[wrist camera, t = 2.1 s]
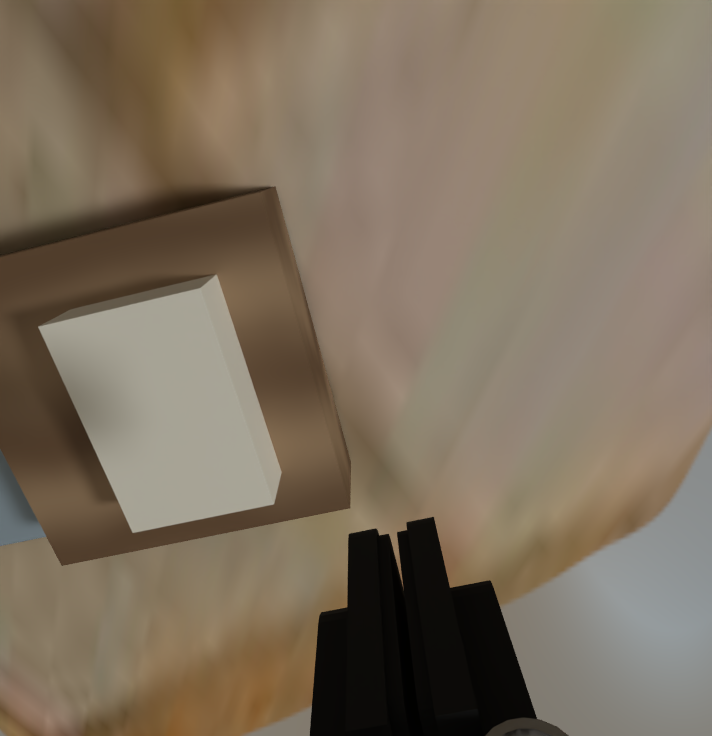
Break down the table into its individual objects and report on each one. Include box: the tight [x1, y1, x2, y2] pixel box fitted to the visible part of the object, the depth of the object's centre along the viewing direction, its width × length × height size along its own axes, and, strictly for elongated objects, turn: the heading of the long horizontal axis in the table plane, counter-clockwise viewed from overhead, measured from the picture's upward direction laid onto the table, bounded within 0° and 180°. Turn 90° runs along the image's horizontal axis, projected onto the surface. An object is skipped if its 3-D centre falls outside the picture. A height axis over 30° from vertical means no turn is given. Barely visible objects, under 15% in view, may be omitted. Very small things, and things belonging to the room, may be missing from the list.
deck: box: [0, 187, 351, 566], centre depth 25 cm, size 14×14×4 cm
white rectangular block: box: [38, 274, 282, 533], centre depth 22 cm, size 9×6×2 cm, turn 13°
